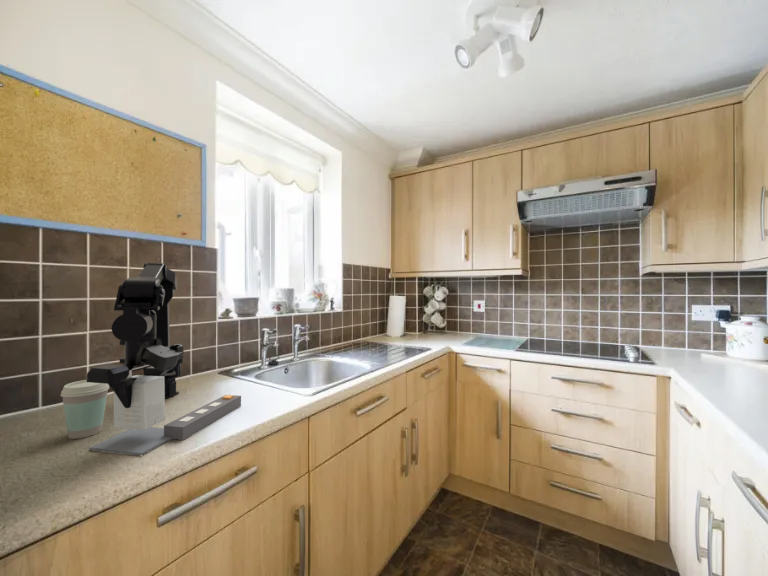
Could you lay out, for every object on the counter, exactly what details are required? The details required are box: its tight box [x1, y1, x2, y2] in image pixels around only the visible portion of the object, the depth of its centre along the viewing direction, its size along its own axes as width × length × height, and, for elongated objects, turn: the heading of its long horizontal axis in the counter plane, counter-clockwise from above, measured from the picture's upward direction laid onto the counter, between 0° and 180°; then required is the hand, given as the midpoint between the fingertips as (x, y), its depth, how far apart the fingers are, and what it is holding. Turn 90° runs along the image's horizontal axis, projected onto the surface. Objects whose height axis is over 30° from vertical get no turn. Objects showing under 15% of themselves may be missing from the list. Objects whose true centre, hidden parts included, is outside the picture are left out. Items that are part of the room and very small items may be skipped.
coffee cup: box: [60, 379, 111, 440], centre depth 76 cm, size 8×8×12 cm
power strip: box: [163, 394, 242, 441], centre depth 84 cm, size 5×22×4 cm, turn 171°
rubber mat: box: [88, 426, 172, 456], centre depth 72 cm, size 13×11×1 cm
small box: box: [113, 374, 166, 430], centre depth 72 cm, size 8×6×10 cm
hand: (139, 403), depth 72 cm, fingers closed on small box, 6 cm apart
